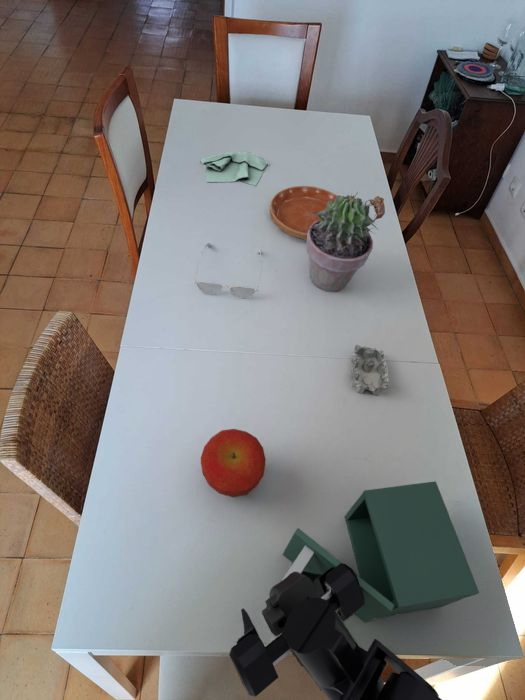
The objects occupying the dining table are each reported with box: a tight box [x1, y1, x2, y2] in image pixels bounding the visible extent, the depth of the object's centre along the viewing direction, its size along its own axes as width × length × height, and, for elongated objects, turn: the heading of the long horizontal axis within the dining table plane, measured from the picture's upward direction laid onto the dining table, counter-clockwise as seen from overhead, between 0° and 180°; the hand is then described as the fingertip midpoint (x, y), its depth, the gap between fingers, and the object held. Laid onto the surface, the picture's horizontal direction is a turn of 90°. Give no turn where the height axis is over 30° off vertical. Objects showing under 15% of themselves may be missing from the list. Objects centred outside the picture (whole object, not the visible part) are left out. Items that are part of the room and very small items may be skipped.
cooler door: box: [281, 527, 395, 624], centre depth 66 cm, size 8×16×13 cm, turn 53°
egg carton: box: [351, 344, 389, 396], centre depth 98 cm, size 11×8×4 cm
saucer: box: [269, 185, 338, 241], centre depth 129 cm, size 23×23×4 cm
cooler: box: [344, 480, 480, 620], centre depth 72 cm, size 12×16×13 cm
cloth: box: [199, 151, 269, 187], centre depth 142 cm, size 20×22×2 cm
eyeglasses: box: [193, 242, 263, 299], centre depth 113 cm, size 15×18×4 cm
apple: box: [200, 428, 267, 498], centre depth 78 cm, size 11×11×12 cm
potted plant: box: [299, 191, 386, 293], centre depth 107 cm, size 18×20×25 cm
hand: (269, 591), depth 66 cm, fingers open, 9 cm apart
